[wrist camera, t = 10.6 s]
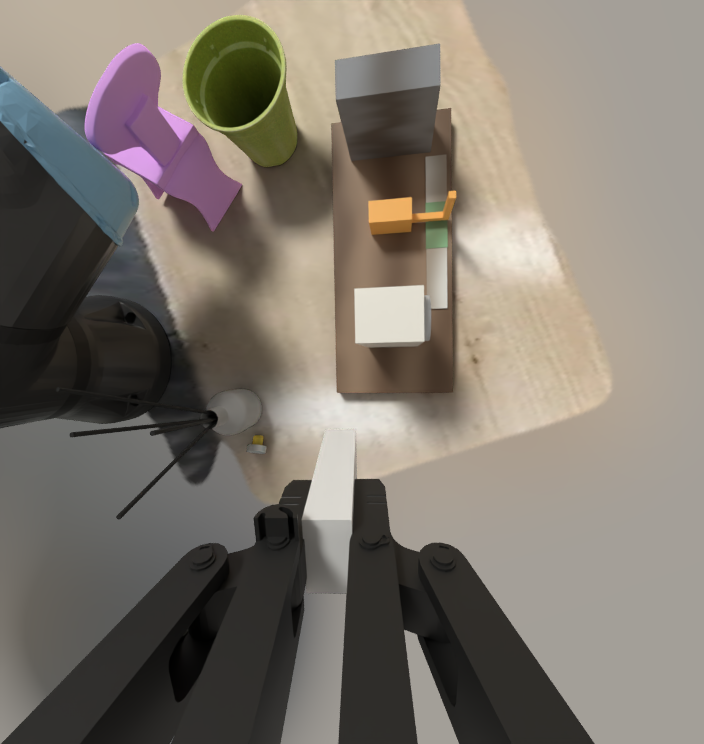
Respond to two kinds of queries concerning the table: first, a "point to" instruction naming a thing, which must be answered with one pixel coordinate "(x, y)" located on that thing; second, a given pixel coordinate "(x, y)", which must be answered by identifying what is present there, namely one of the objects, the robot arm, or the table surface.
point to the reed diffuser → (195, 422)
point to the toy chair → (154, 136)
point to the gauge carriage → (392, 316)
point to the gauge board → (391, 181)
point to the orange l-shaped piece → (402, 214)
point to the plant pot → (242, 87)
